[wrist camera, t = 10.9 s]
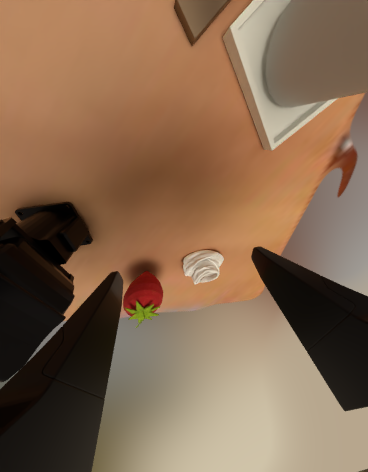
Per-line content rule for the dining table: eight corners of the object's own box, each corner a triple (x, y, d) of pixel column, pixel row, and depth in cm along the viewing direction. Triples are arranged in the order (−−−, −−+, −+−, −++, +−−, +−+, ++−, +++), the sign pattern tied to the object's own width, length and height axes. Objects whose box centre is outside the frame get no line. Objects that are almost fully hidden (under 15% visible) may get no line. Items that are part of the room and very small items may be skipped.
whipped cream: (216, 240, 27) (228, 255, 23) (222, 265, 31) (233, 282, 27) (177, 255, 27) (181, 273, 23) (187, 279, 31) (193, 298, 26)
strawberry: (123, 281, 28) (109, 340, 20) (138, 254, 25) (129, 311, 17) (151, 287, 31) (149, 342, 22) (168, 263, 27) (173, 317, 19)
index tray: (263, 149, 19) (271, 150, 17) (222, 37, 13) (229, 26, 12) (356, 74, 16) (375, 68, 14) (356, -113, 10) (387, -150, 9)
